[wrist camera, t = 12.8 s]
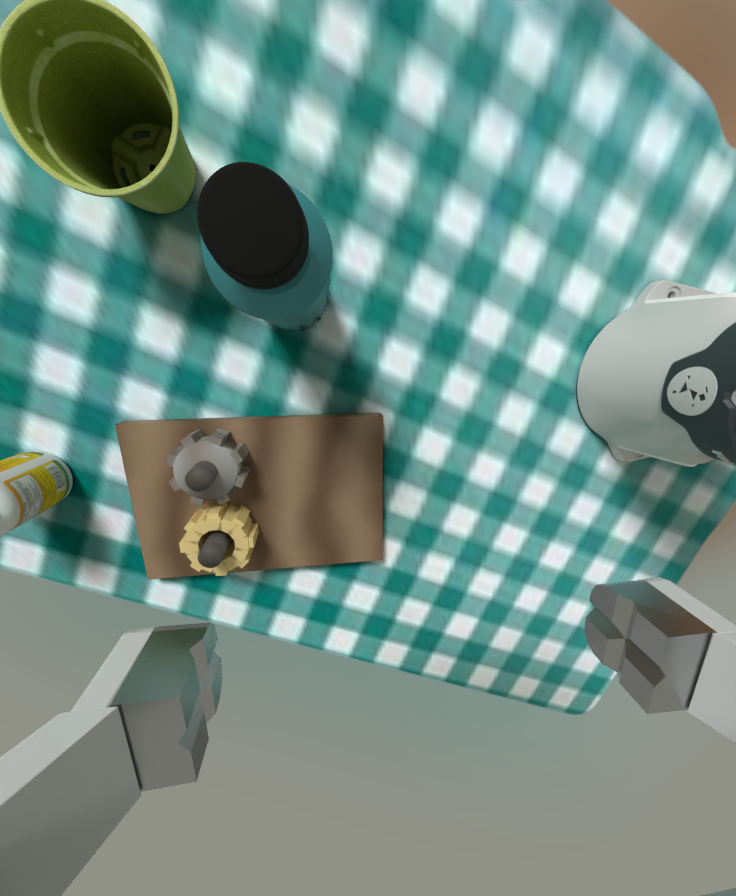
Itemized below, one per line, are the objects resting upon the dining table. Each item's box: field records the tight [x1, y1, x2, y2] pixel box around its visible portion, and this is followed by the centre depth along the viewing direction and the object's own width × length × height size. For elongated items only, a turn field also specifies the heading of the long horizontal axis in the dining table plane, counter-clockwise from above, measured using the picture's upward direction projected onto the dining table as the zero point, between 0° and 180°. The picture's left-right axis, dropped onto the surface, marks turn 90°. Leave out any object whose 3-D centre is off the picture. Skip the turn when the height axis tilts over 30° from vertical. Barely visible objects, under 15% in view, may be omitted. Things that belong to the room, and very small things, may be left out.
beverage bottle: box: [197, 162, 333, 332], centre depth 23 cm, size 6×7×20 cm
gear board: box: [115, 413, 383, 579], centre depth 34 cm, size 24×16×6 cm, turn 91°
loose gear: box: [179, 501, 259, 576], centre depth 34 cm, size 6×6×3 cm
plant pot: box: [0, 0, 196, 214], centre depth 24 cm, size 9×9×9 cm
